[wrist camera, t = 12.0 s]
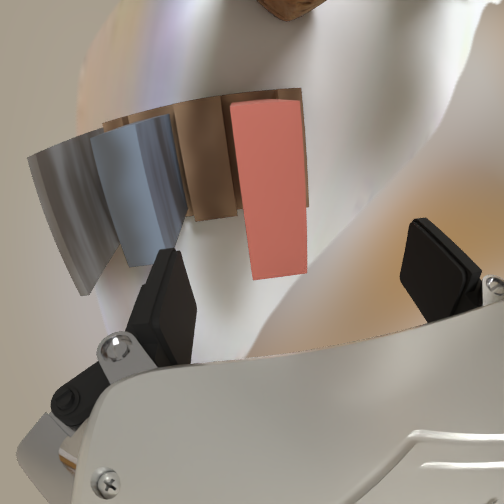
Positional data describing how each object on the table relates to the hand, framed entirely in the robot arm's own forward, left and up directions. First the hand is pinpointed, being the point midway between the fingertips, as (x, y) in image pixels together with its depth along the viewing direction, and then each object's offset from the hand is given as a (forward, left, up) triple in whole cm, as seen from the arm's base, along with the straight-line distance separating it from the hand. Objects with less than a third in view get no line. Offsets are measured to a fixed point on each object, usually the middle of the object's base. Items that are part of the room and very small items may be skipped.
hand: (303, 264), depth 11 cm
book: (0, 0, -24) cm, 24 cm away
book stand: (+6, 0, -25) cm, 25 cm away
